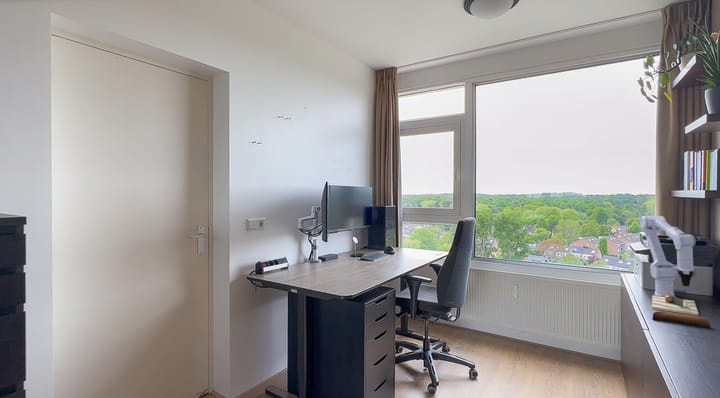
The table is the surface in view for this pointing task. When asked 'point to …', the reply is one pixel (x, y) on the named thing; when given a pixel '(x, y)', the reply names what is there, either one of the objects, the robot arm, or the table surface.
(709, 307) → the table surface
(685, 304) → the bronze ball with handle
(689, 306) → the board
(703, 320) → the sunglasses case
